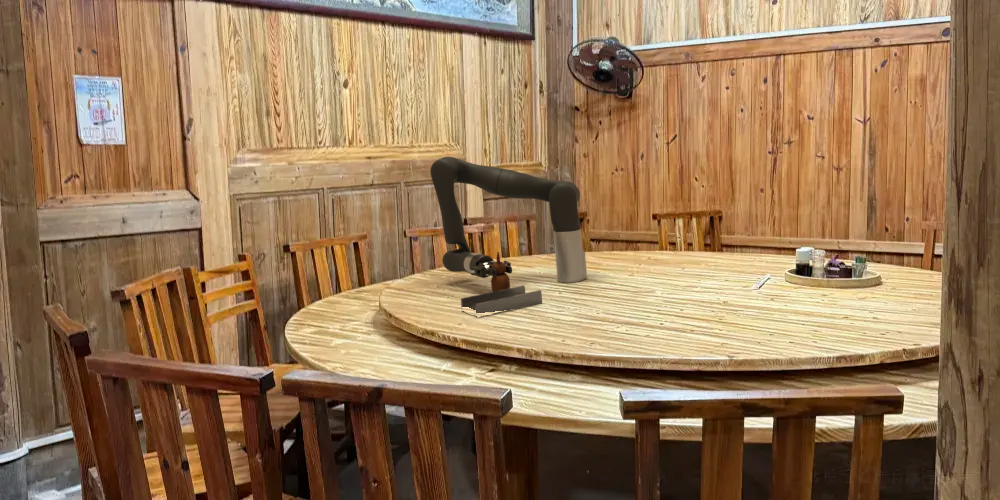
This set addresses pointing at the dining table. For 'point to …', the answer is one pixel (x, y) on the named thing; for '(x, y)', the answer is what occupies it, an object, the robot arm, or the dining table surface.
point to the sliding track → (502, 300)
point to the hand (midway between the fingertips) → (503, 271)
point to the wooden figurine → (500, 276)
